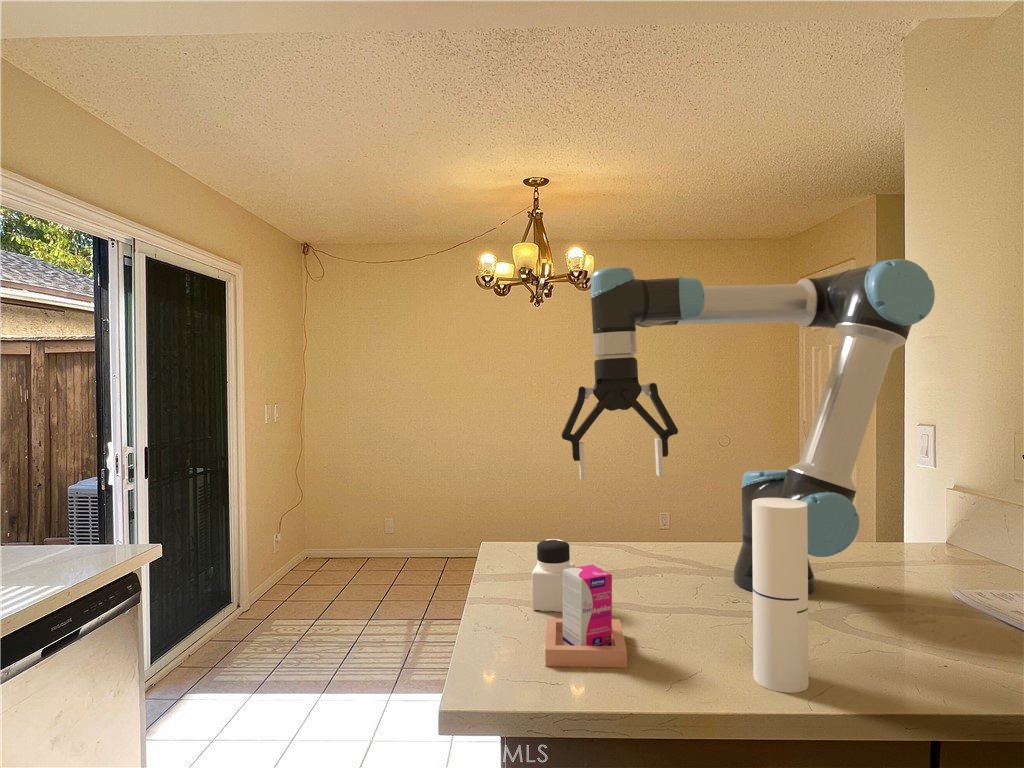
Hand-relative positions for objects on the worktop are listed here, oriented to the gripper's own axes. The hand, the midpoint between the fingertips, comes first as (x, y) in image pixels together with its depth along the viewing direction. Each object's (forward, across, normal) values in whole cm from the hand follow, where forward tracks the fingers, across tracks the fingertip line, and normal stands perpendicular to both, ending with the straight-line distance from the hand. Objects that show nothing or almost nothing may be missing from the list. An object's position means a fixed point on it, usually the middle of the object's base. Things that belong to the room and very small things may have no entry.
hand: (621, 477), depth 115 cm
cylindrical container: (+26, -18, +24) cm, 39 cm away
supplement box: (+24, +8, +14) cm, 29 cm away
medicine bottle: (+25, +13, -6) cm, 28 cm away
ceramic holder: (+24, +9, +14) cm, 29 cm away
